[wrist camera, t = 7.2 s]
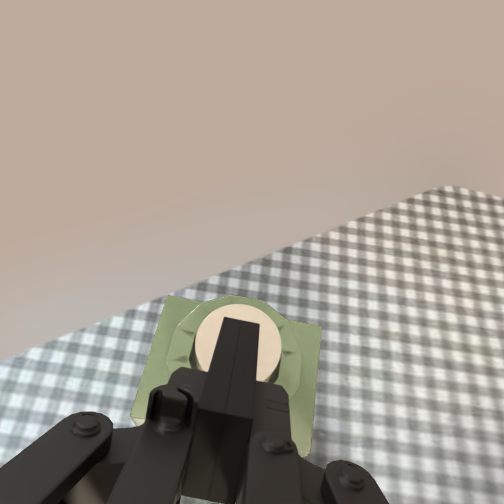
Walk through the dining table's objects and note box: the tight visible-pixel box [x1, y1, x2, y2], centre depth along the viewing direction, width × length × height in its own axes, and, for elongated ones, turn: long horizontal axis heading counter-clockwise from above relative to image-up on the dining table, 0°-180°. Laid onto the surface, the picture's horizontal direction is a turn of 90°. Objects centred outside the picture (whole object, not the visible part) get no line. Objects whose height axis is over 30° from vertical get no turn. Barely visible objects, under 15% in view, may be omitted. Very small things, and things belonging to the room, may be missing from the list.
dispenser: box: [130, 295, 322, 458], centre depth 30 cm, size 10×8×14 cm
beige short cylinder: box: [195, 304, 282, 383], centre depth 23 cm, size 4×4×3 cm
